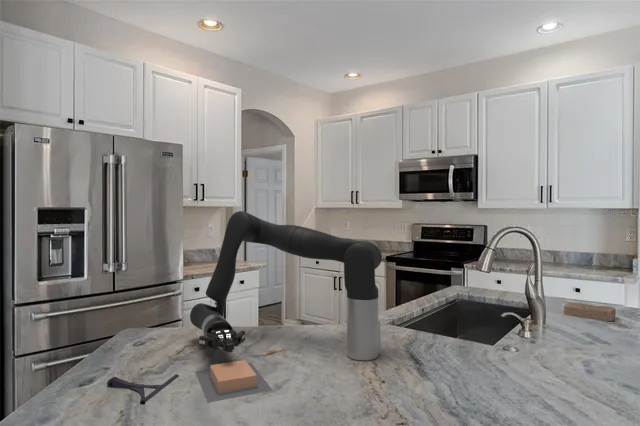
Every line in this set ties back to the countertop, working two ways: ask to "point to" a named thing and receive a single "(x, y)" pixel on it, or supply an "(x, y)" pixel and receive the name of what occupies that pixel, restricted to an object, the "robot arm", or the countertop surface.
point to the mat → (213, 395)
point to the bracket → (139, 387)
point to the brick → (590, 311)
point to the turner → (272, 352)
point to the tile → (233, 377)
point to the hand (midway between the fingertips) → (229, 348)
